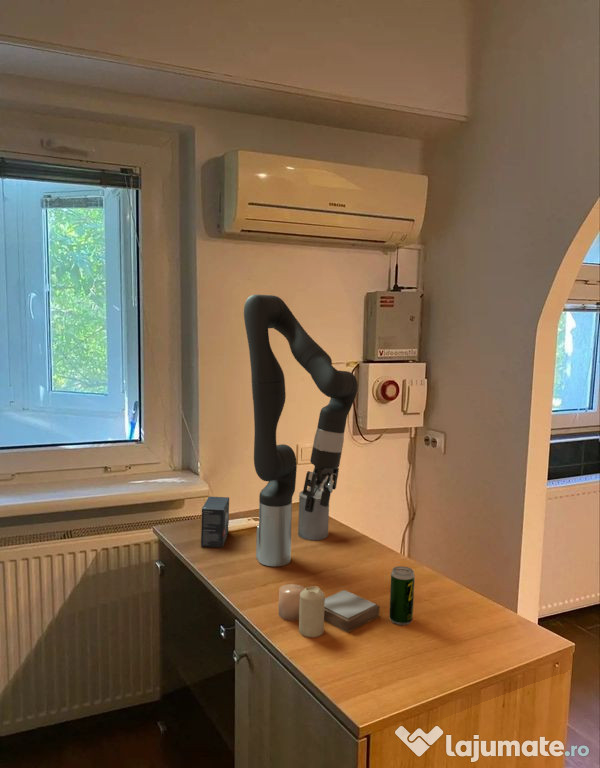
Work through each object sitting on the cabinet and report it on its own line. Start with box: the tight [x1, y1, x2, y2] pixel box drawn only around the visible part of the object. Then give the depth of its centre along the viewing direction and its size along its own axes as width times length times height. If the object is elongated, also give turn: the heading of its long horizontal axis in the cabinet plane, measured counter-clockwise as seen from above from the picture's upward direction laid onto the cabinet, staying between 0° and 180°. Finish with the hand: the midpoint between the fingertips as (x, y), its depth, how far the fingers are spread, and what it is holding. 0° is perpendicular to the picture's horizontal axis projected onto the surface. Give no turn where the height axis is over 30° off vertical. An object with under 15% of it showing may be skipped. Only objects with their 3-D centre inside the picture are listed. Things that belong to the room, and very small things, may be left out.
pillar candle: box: [297, 489, 330, 541], centre depth 195 cm, size 10×10×15 cm
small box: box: [200, 496, 230, 548], centre depth 189 cm, size 13×7×12 cm, turn 179°
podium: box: [324, 589, 380, 633], centre depth 143 cm, size 11×11×3 cm
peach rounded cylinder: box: [278, 583, 305, 621], centre depth 143 cm, size 6×6×6 cm
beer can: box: [388, 565, 416, 626], centre depth 141 cm, size 5×5×12 cm
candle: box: [298, 585, 326, 638], centre depth 135 cm, size 6×6×10 cm
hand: (316, 508), depth 158 cm, fingers open, 8 cm apart
